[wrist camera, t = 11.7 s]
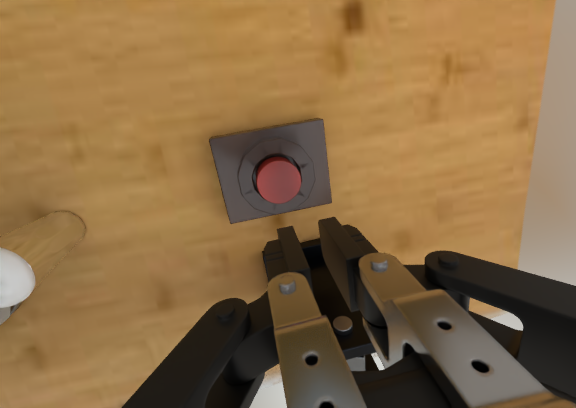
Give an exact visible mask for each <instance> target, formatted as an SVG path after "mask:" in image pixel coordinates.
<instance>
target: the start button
mask: <svg viewBox="0 0 576 408" xmlns="http://www.w3.org/2000/svg"><path fill="white" fill-rule="evenodd" d="M256 183H257V188H258V191H259V193H260V194H261V196H262V197H263V198H264V199H265V200H267V201H269V202H271V203H276V204H281V203H285V202H288V201H290V200H291V199H293V198H294V197H295V196H296V195H297V193H298V192H299V190H300V187H301V176H300V173H299V171H298V170H297V168H296V167H295V166H294V165H293V164H292V162H290V161H289V160H288V159H286V158H283V157H272V158H269V159H267V160H265V161H264V162H263V163H262V164H261V165H260V166H259V168H258V170H257V173H256Z"/></svg>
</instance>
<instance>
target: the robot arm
mask: <svg viewBox="0 0 576 408" xmlns="http://www.w3.org/2000/svg"><path fill="white" fill-rule="evenodd" d="M318 224H319V232H320V240H321V248H322V254H323V258H324V261H325V263H326V265H327V267H328V269H329V271H330V273H331V275H332V277H333V278H334V280H335V282H336V284H337V286H338V288H339V290H340V292H341V294H342V296H343V298H344V299H345V301H346V303H347V305H348V307H349V309H350V311H351V312H354V311H358V310H360V311H361V313H362V319H363V326H364V328H365V330H366V332H367V334H368V336H369V338H370V340H371V342H372V344H373V346H374V348H375V350H376V352H377V354H378V356H379V358H380V360H381V362H382V364H383V366H384V368H385V369H384V370H380V371H351V370H350V368H349V365H348V363H347V361H346V359H345V356H344V354H343V352H342V349H341V347H340V345H339V343H338V340H337V338H336V336H335V334H334V331H333V329H332V327H331V324H330V322H329V320H328V318H327V316H326V315H323V316H322V315H321V313H320V310H319V308H318V305H317V303H316V301H315V298H314V293H313V286H312V279H311V273H310V267H309V265H308V262H307V260H306V258H305V255H304V253H303V250H302V248H301V245H300V243H299V241H298V238H297V236H296V233H295V231H294V228H293V226H289V227H284V228H279V229H277V233H278V240H274V241H269V242H267V244H266V246H265V248H264V252H265V259H266V265H267V272H268V278H269V283H268V285H267V291H266V293H265V294H264V295H263V296H262V297H260V298H259V299H257V300H256V301H254V302H252V303H250V304H248V305H247V303H246V302H245V301H244V300H242V299H238V298H229V299H225V300H222V301H220V302H218V303H216V304H214V305H213V306H212V307H211V308H210V309H209V310H208V311H207V312H206V313H205V314H204V315H203V316H202V317H201V319H200V320H199V321H198V322H197V323H196V324H195V325H194V327H193V328H192V329H191V330H190V331H189V332H188V333H187V334H186V336H185V337H184V338H183V339H182V340H181V341H180V342H179V343H178V345H177V346H176V347H175V348H174V349H173V350H172V351H171V352H170V354H169V355H168V356H167V357H166V358H165V359H164V360H163V362H162V363H161V364H160V365H159V366H158V367H157V368H156V369H155V371H154V372H153V373H152V374H151V375H150V376H149V377H148V378H147V380H146V381H145V382H144V383H143V384H142V385H141V386H140V387H139V389H138V390H137V391H136V392H135V393H134V394H133V395H132V396H131V398H130V399H129V400H128V401H127V402H126V403H125V404H124V406H123V407H122V408H249V407H250V405H251V403H252V401H253V399H254V397H255V395H256V393H257V391H258V389H259V387H260V385H261V383H262V381H263V379H264V375H265V372H266V371H267V370H269V369H270V368H272V367H274V366H275V365H277V364H280V370H281V375H282V381H283V387H284V392H285V398H286V404H287V408H576V286H574V285H570V284H567V283H563V282H559V281H556V280H552V279H549V278H545V277H541V276H538V275H535V274H531V273H527V272H524V271H520V270H517V269H513V268H510V267H506V266H502V265H499V264H495V263H492V262H488V261H485V260H481V259H478V258H474V257H470V256H467V255H463V254H460V253H456V252H452V251H435V252H431V253H429V254H428V255H427V256H426V257H425V265H402V263H401V262H400V261H399V260H398V259H397V258H395V257H394V256H392V255H389V254H386V253H379V252H378V251H377V250H376V249H375V248H374V247H373V246H372V244H371V243H370V242H369V241H368V240H366V238H365V237H364V236H363V235H362V234H361V233H360V231H359V230H358V229H357V228H355V227H352V226H350V225H343V226H342V225H341V224H340V223H339V221H338V220H337V219H336V218H335V217H331V218H327V219H322V220H319V222H318ZM470 298H473V299H476V300H478V301H481V302H484V303H486V304H489V305H492V306H494V307H497V308H500V309H502V310H505V311H508V312H510V313H512V314H514V315H515V316H517V317H518V318H519V319H520V320H521V322H522V324H523V331H520V330H515V329H513V328H510V327H508V326H505V325H503V324H500V323H498V322H495V321H493V320H491V319H488V318H486V317H483V316H481V315H478V314H476V313H473V312H471V311H469V301H470ZM20 304H21V302H20V303H18V304H16V305H13V306H10V307H5V308H0V325H1V324H2V323H3V322H4V321H6V320H7V319H8V318H9V317H10V315H11V314H12V313H13V312H14V311H15V310H16V309H17V308H18V307H19V306H20Z"/></svg>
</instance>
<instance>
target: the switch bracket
mask: <svg viewBox="0 0 576 408" xmlns="http://www.w3.org/2000/svg"><path fill="white" fill-rule="evenodd" d="M300 245H301V248H302V250H303V253H304V255H305V258H306V260H307V262H308V265H309V267H310V273H311V279H312V286H313V293H314V298H315V301H316V303H317V305H318V308H319V310H320V313H321V315H322V316H323V315H326V316H327V318H328V320H329V322H330V324H331V327H332V329H333V331H334V334H335V336H336V338H337V340H338V343H339V345H340V347H341V349H342V352H343V354H344V356H345V359H346V360H349V359H352V358H356V357H360V356H364V355H365V365H366V371H379V369H378V367H377V365H376V363H375V362H374V360H373V358H372V356H371V354H372V353H375V352H376V350H375V348H374V346H373V344H372V342H371V340H370V338H369V336H368V334H367V332H366V330H365V328H364V326H363V319H362V313H361V311H360V310H358V311H354V312H351V311H350V309H349V307H348V305H347V303H346V301H345V299H344V298H343V296H342V294H341V292H340V290H339V288H338V286H337V284H336V282H335V280H334V278H333V277H332V275H331V273H330V271H329V269H328V267H327V265H326V263H325V261H324V258H323V254H322V248H321V240H320V239H316V240H312V241H307V242H302V243H300ZM262 253H263V259H264V264H265V268H266V273H267V277H268V272H267V265H266V259H265V252H264V251H262ZM268 282H269V278H268Z"/></svg>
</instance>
